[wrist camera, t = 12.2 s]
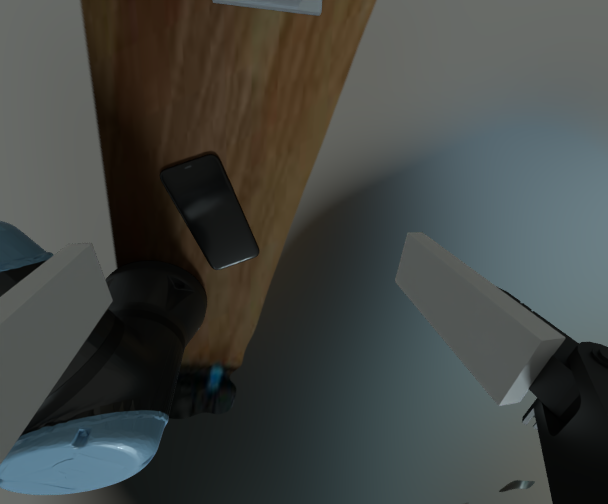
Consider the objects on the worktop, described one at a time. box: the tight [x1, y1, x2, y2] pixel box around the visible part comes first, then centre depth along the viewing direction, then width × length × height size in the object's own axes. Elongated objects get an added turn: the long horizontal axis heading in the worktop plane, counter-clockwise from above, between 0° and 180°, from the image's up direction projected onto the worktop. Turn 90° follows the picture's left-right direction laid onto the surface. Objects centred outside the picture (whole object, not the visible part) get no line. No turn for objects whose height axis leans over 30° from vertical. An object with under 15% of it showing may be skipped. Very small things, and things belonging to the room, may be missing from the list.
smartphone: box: [160, 154, 259, 270], centre depth 37 cm, size 8×1×16 cm
